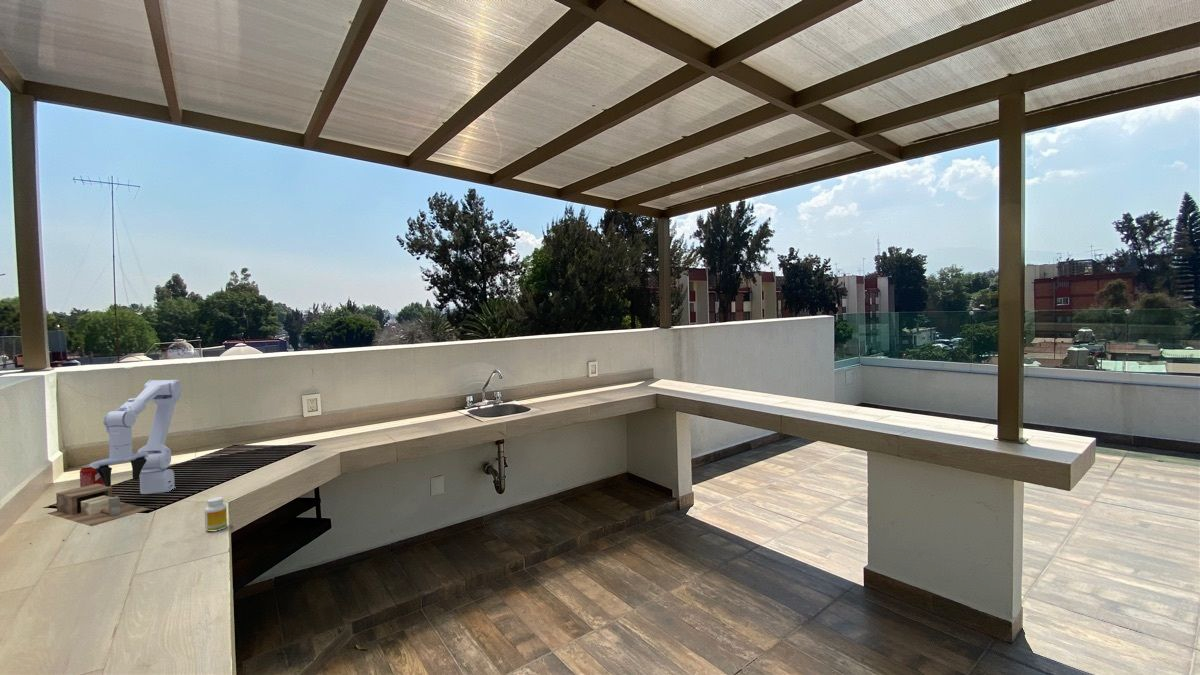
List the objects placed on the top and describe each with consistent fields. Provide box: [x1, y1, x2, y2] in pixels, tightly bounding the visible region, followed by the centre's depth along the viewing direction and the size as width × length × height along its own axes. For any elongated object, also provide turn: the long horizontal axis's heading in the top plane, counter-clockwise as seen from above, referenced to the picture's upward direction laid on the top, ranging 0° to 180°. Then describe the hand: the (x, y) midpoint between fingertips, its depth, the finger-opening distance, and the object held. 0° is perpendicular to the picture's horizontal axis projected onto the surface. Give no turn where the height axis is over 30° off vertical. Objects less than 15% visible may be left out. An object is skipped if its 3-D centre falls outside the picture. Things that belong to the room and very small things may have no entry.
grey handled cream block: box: [81, 496, 121, 517], centre depth 163 cm, size 14×6×6 cm, turn 69°
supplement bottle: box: [204, 496, 228, 531], centre depth 153 cm, size 5×5×10 cm
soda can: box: [79, 462, 104, 488], centre depth 181 cm, size 7×7×12 cm
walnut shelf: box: [46, 483, 150, 527], centre depth 164 cm, size 28×15×7 cm, turn 69°
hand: (122, 482), depth 169 cm, fingers open, 7 cm apart
